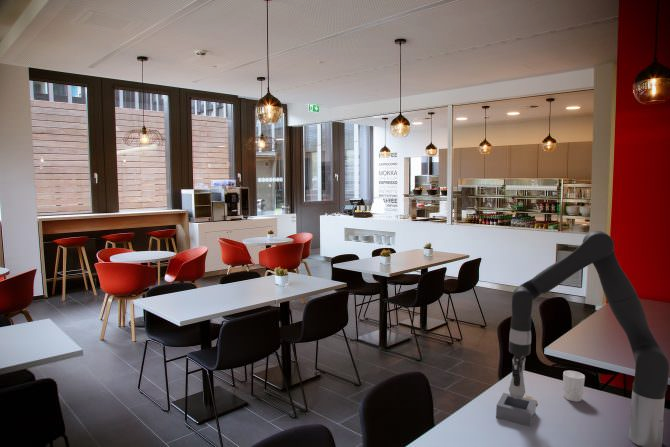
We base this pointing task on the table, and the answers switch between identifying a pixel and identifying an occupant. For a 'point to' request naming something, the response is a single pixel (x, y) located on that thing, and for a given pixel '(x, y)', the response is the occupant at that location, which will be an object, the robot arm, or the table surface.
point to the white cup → (573, 385)
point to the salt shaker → (517, 387)
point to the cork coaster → (529, 398)
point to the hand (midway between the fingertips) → (517, 384)
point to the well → (516, 409)
